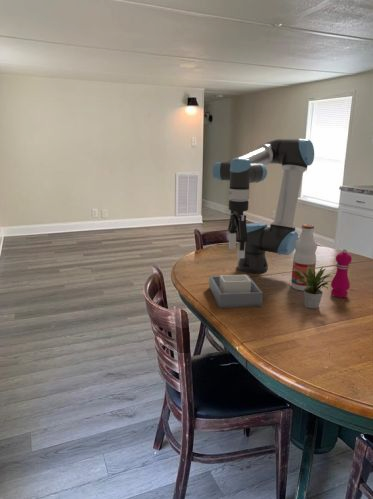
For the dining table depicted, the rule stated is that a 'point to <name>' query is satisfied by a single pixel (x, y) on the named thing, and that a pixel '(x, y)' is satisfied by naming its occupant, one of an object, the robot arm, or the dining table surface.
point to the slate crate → (235, 295)
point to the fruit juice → (303, 257)
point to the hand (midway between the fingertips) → (236, 253)
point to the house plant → (314, 287)
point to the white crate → (234, 284)
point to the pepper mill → (341, 275)
